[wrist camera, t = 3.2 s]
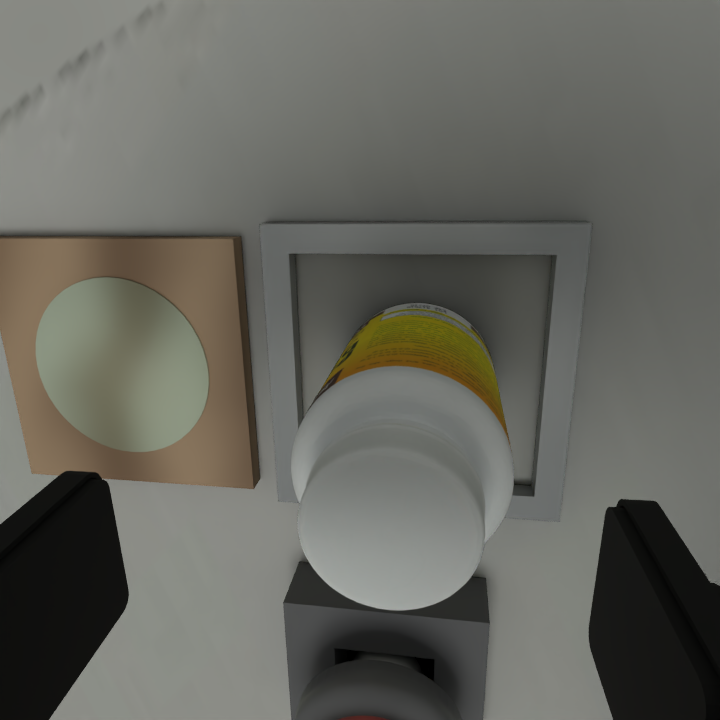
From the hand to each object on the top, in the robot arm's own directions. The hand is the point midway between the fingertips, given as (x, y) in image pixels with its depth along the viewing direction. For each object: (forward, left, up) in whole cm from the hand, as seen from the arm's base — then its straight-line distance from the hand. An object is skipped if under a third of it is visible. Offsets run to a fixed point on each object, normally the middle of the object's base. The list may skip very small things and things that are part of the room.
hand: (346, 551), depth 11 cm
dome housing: (0, +13, -11) cm, 18 cm away
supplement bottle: (-1, 0, -12) cm, 12 cm away
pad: (+11, 0, -11) cm, 16 cm away
